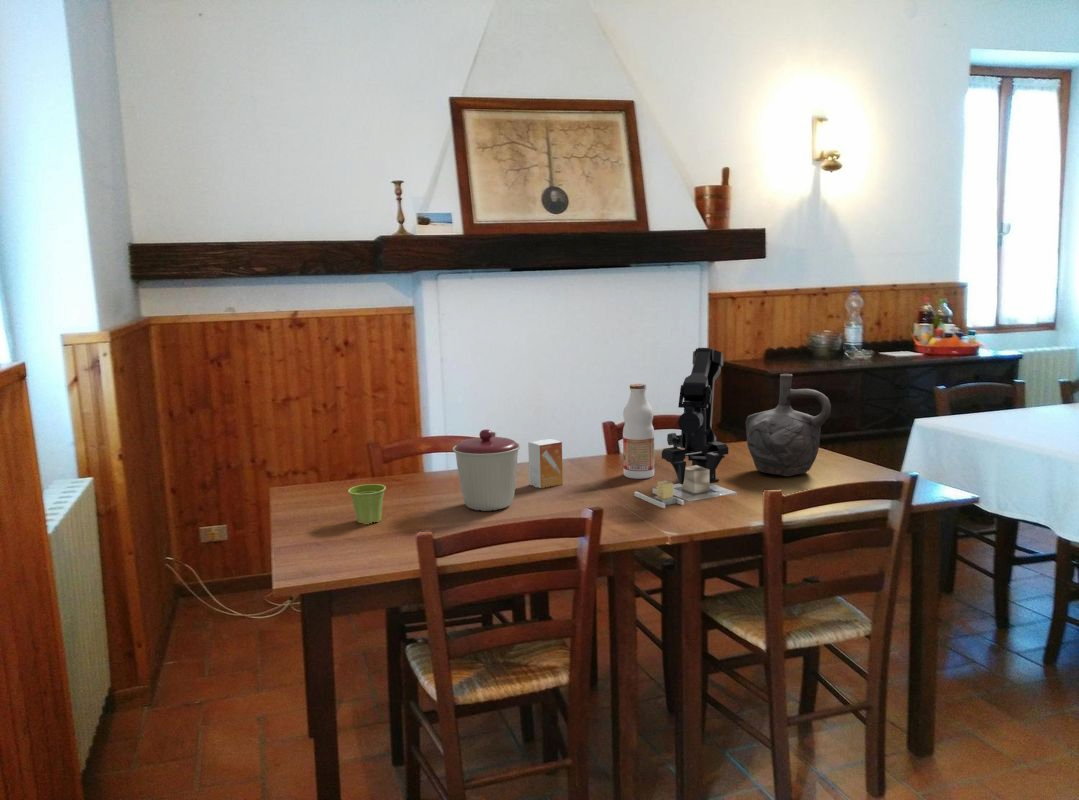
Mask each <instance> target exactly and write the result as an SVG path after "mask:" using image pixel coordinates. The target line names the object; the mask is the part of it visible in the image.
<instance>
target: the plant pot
mask: <svg viewBox="0 0 1079 800" xmlns="http://www.w3.org/2000/svg"><path fill="white" fill-rule="evenodd" d="M386 489H387V487H386V486H385V485H384V484H378V483H371V484H370V483H369V484H360V485H355V486H352V487H350V488H349V489H348V490H347V491H348V492H347V493H349V494H350V498H351V500H352V501H351V502H352V505H353V510H354V513H355V517H356V518H355V519H356V522H357V521H358V522H357V523H359V522H361V523H371V524H373V523H372V522H374V523H375V522H377V521H380V520H381V521H382V516H383V515H382V513H383V504H384V503H383V501H384V495H385V491H386ZM381 521H380V522H381Z"/></svg>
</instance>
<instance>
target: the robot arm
mask: <svg viewBox="0 0 1079 800" xmlns="http://www.w3.org/2000/svg"><path fill="white" fill-rule="evenodd" d="M692 365H693V366H692V369H691V373H690V375H688V376H686V377H685V378H684V381H683V383H682V384H681V385H680V389H679V398H678V404H677V405H678V406H677V407H678V408H681V409H683V413H681V414H680V416H679V418H678V420H677V424H678V428H679V430H681V432H680V433H681V434H679V435H677V433H676V432H672V433H668V434H667V435H666V436H667V438H666V441H667V445H668V446H673V447H666V448H663V450H662V451H661V460H662V459H663V460H665V461H666V462H667V463H670V464H671V465H672V467H673V469H674V472H675V474H676V477H677V481H678V484H679V483H680V484H683V482H684V477H685V468H686V467H687V462H686V461H685V459H686V457H687V460H688V461H689V462H691V465H690V466H695V465H697V466H700V467H703V468H706V469H709V470H710V483H712V482H718V481H720V479H719V478H717V477H716V475H717V473H716V472H717V471H716V470H717V468H718V466H719V464H720V463H721V461H722V460H723V459H725V457H726V456H725V455H729V446H728V445H727V443H724V442H720V441H717V436H716V434H715V433H714V430H713V429H712V427H713V426H712V425H713V411H714V410H713V408H714V394H715V381H716V380H717V378H719V376H720V374H721V369H722V367H724V354H723V353H722V352H721V351H719V350H715V349H714V348H712V347H697V348H695V350H694V351H692Z"/></svg>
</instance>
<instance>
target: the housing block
mask: <svg viewBox="0 0 1079 800" xmlns="http://www.w3.org/2000/svg"><path fill="white" fill-rule="evenodd" d="M710 483H711V482H710V470H709V469H706V468H703V467H700V466H697V465H695V466H691V465H688V466H686V468H685V477H684V482H683V484H682V489H685V490H687V491H690V492H692V493H699V492H705V491H709V485H710Z"/></svg>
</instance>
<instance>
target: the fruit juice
mask: <svg viewBox="0 0 1079 800" xmlns="http://www.w3.org/2000/svg"><path fill="white" fill-rule="evenodd" d="M629 390H630V394H629V399H628V401H627V404H626V405H625V407H624V408H623V411H622V416H623V417H622V418H623V420H624V424H623V425H624V426H623V429H622V447H623V448H622V453H623V454H622V456H623V459H622V461H623V463H622V465H623V469H622V470H623V475H624V477H625V478H628V479H634V480H635V479H636V480H638V479H640V480H643V479H650V478H652V477H654V476H655V428H654V426H653V420H654V414H655V413H654V409H653V407H652V406H651V403H650V402H649V400H648V397H647V394H646V390H647V384H645V383H631V384H629Z"/></svg>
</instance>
